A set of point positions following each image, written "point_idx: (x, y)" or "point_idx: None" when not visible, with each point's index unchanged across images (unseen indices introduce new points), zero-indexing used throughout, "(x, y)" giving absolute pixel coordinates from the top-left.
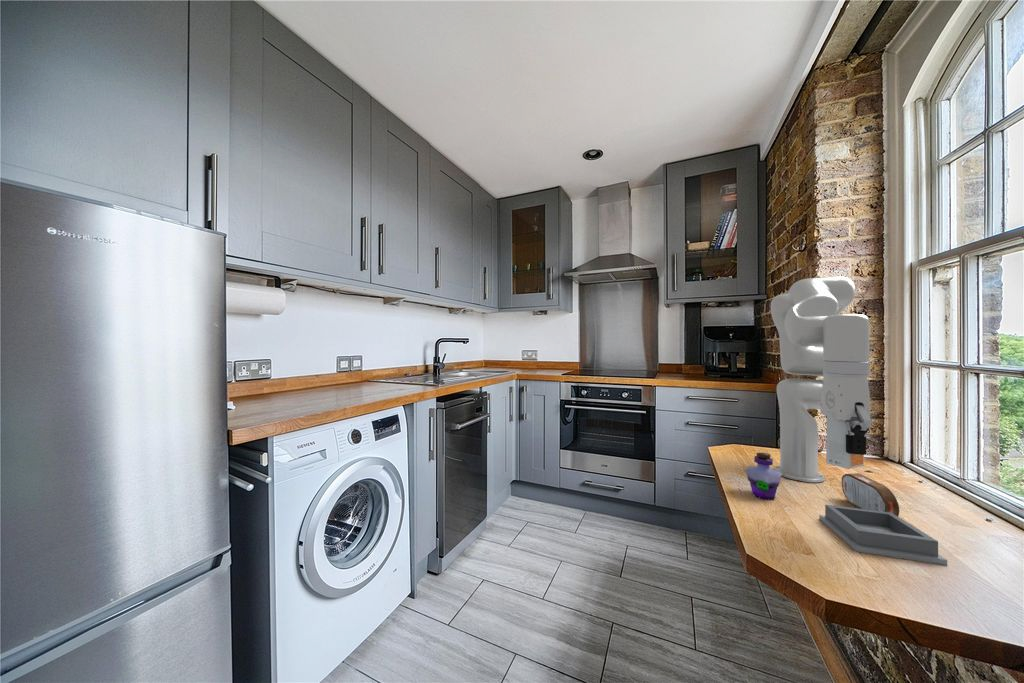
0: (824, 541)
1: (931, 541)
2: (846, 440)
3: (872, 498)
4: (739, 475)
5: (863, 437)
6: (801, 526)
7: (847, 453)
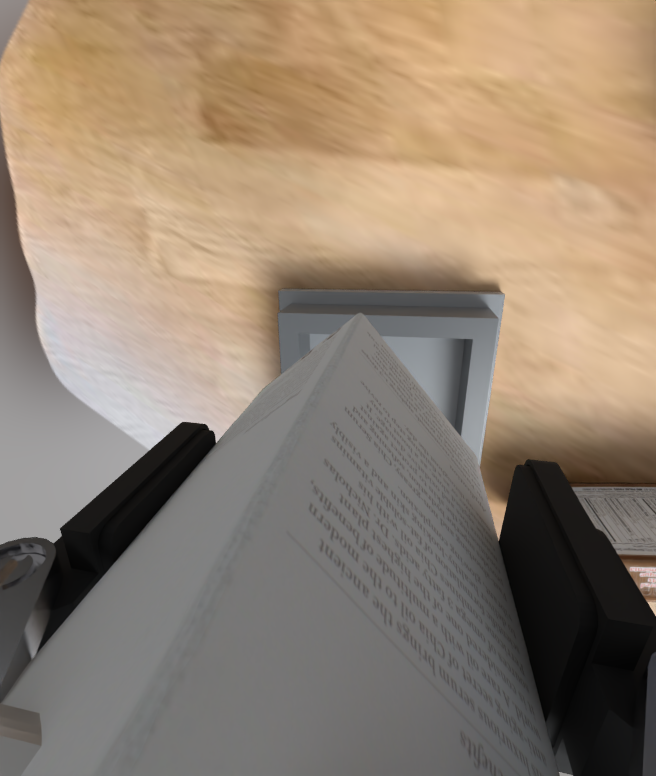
0: (317, 221)
1: None
2: (125, 483)
3: None
4: None
5: None
6: (416, 188)
7: (225, 432)
